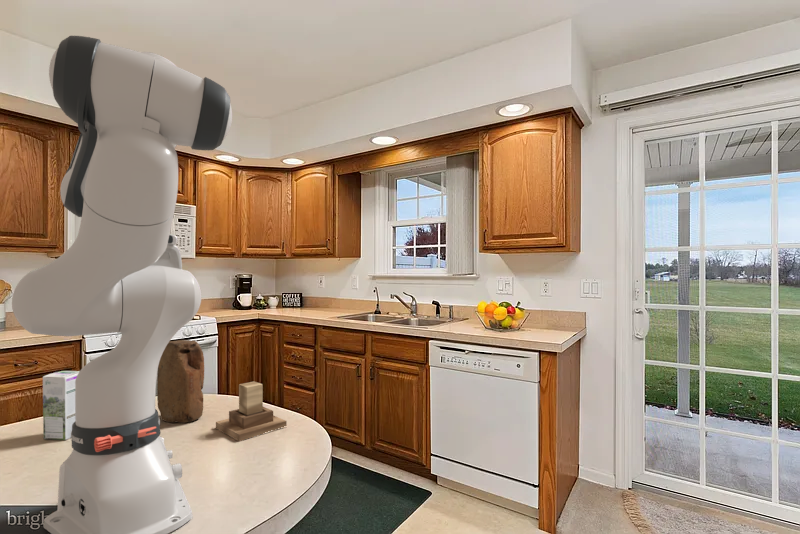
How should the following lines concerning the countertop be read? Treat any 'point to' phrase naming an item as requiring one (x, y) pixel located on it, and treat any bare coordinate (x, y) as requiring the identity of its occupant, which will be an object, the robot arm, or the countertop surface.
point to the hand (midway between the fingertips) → (133, 295)
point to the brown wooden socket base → (249, 424)
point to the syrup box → (59, 404)
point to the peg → (250, 398)
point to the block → (181, 382)
